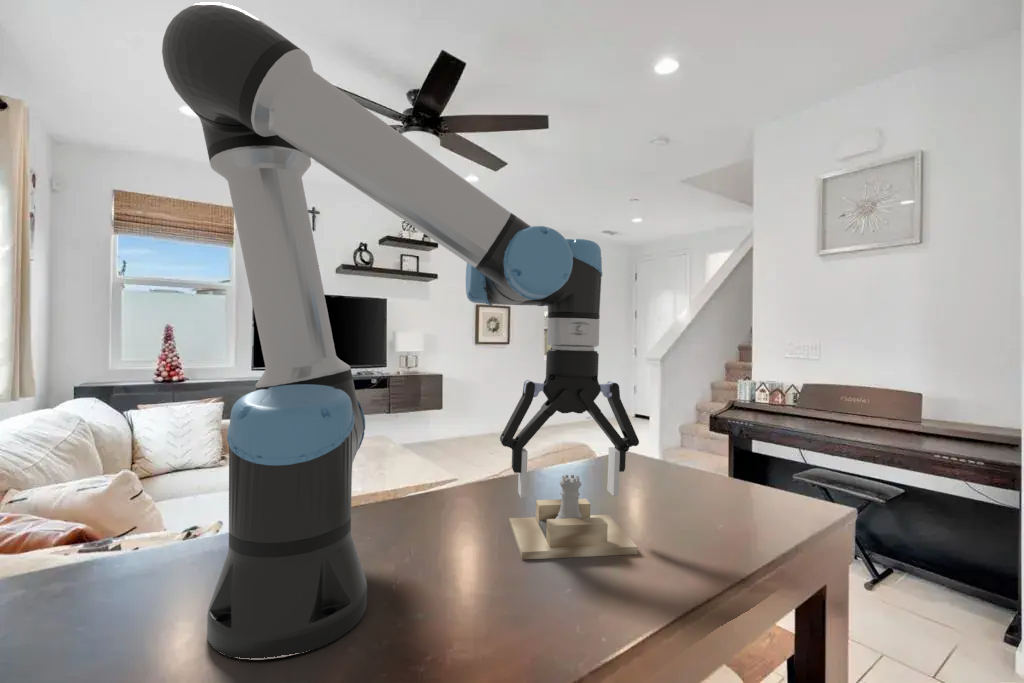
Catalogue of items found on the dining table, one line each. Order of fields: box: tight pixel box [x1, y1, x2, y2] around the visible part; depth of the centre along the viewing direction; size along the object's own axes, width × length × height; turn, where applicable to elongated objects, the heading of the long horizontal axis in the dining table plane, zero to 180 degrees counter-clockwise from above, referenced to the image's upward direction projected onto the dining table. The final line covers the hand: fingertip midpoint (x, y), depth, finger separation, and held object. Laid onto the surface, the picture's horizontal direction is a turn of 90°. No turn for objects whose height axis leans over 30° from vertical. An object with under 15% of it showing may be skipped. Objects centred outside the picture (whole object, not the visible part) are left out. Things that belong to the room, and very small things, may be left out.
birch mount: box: [508, 498, 638, 561], centre depth 73 cm, size 16×12×4 cm
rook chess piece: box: [555, 474, 583, 519], centre depth 72 cm, size 4×4×8 cm
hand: (567, 494), depth 72 cm, fingers open, 13 cm apart
